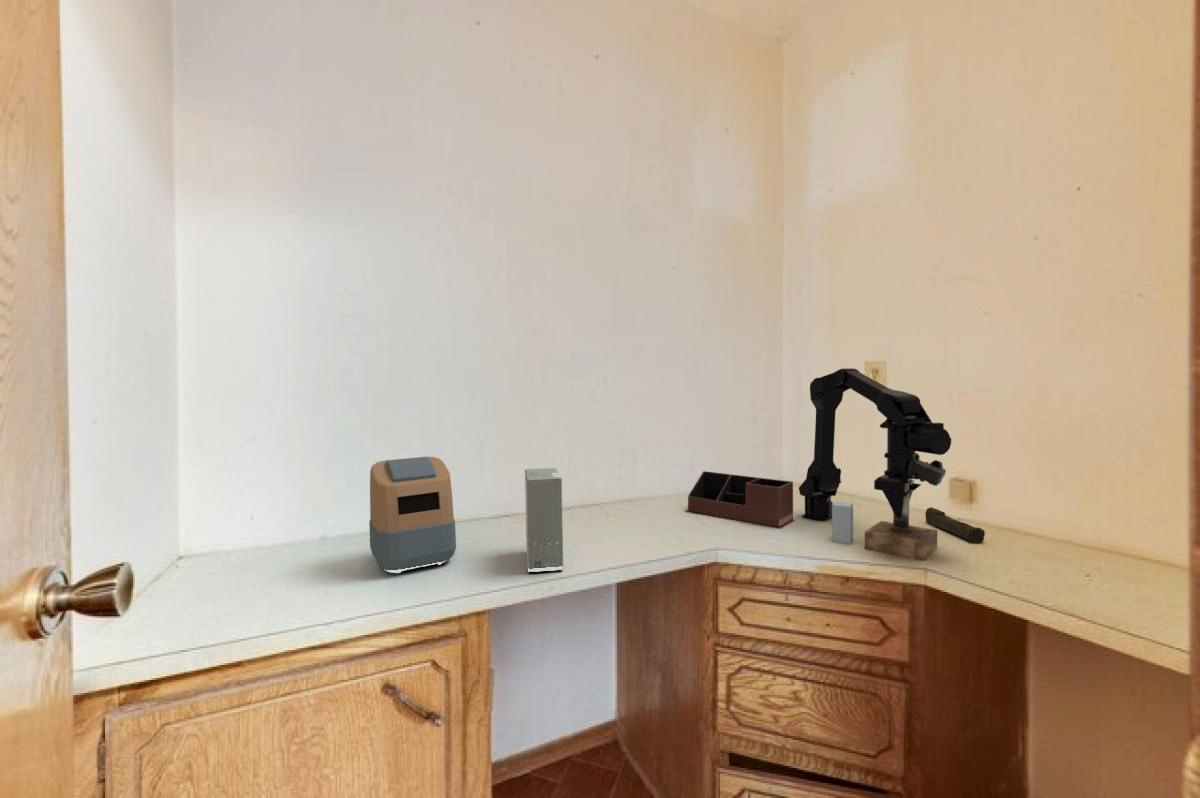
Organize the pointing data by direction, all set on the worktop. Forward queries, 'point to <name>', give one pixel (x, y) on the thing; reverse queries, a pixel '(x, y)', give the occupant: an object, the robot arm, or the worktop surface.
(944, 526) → the hand tool
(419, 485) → the alarm clock
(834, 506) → the gray rectangular block
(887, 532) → the bore block
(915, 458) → the robot arm
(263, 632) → the worktop surface
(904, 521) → the cylinder
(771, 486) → the desk organizer
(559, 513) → the hard drive box
